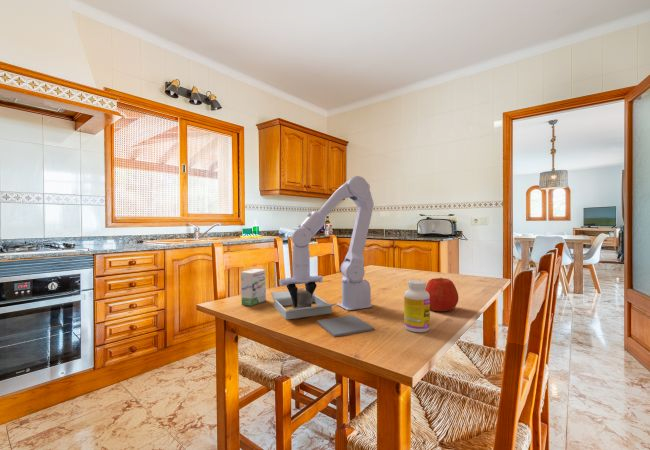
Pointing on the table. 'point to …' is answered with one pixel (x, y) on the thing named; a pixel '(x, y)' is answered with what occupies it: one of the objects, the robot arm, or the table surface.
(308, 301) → the block
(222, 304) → the table surface
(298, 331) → the table surface
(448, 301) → the apple
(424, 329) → the supplement bottle
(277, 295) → the grey shallow open piece
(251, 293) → the ink box
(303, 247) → the robot arm
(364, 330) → the mat
